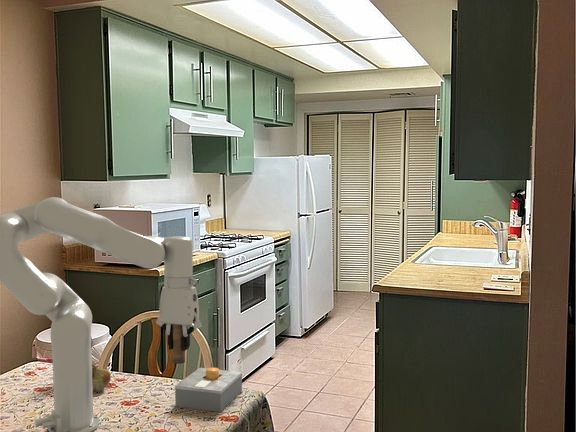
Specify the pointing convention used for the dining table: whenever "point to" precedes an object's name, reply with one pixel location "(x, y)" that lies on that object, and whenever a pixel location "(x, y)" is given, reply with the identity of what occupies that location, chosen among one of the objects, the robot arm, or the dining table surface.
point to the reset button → (212, 373)
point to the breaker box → (208, 390)
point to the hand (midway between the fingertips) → (178, 348)
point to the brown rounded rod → (178, 345)
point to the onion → (100, 378)
